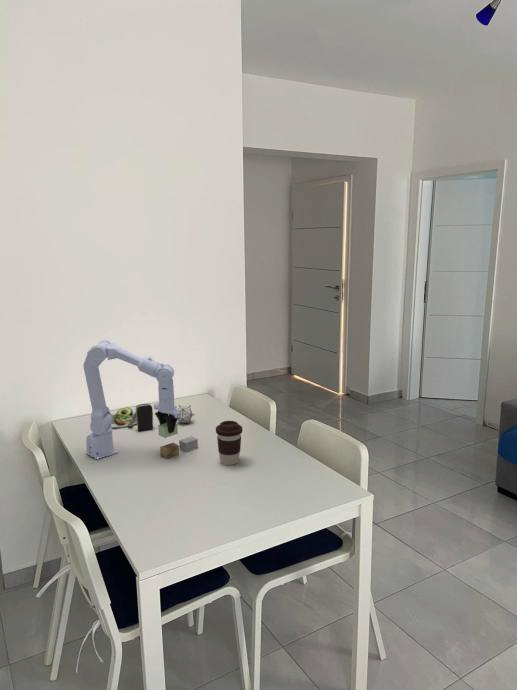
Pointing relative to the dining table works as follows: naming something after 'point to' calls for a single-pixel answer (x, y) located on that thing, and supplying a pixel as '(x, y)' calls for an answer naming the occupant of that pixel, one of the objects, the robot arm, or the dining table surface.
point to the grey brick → (188, 444)
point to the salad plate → (124, 418)
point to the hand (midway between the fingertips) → (167, 430)
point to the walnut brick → (169, 450)
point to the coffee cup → (229, 442)
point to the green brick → (166, 430)
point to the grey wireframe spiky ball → (185, 414)
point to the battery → (144, 417)
